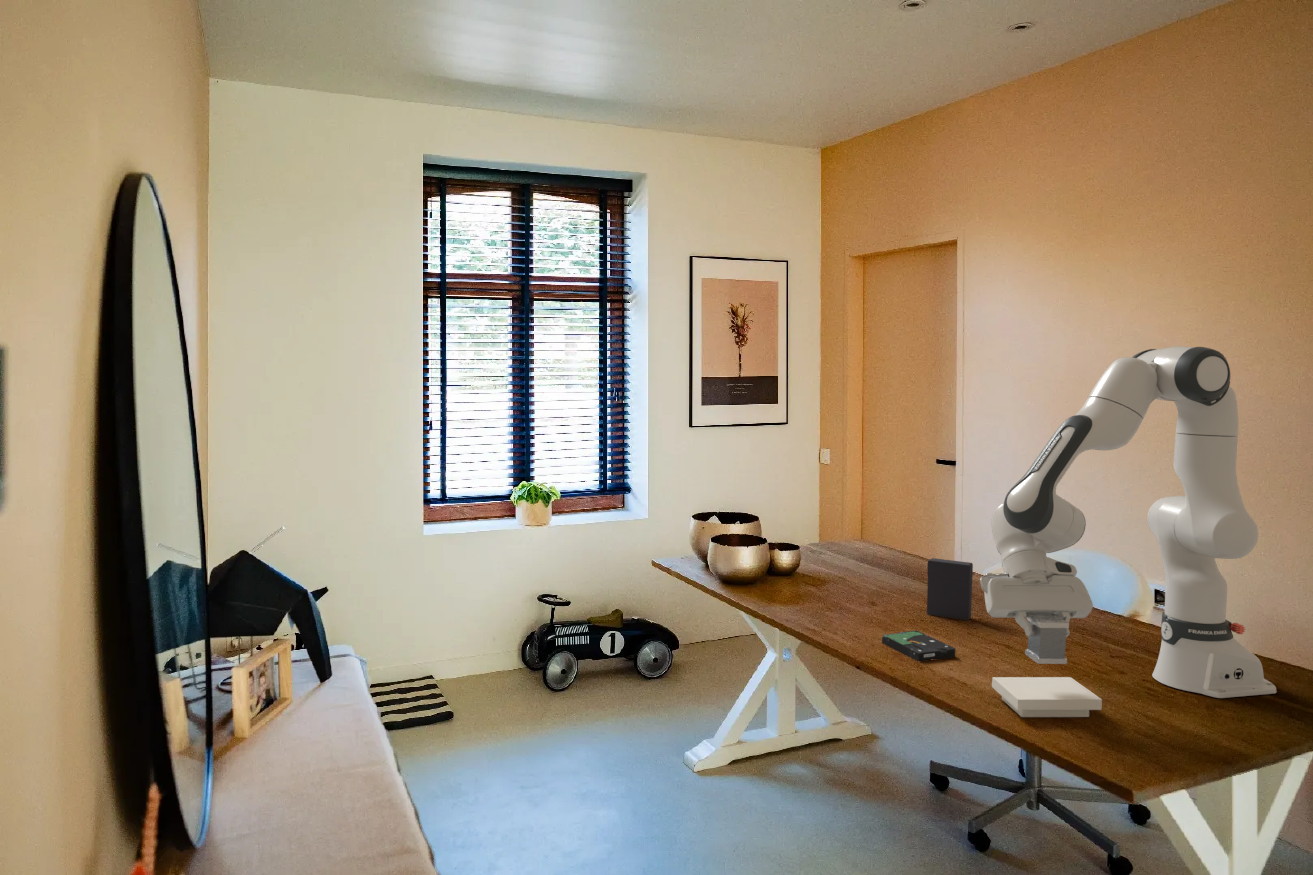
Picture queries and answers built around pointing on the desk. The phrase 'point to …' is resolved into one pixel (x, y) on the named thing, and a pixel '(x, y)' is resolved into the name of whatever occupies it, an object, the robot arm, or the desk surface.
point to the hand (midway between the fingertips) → (1048, 635)
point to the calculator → (949, 588)
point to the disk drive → (918, 645)
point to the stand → (1046, 696)
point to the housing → (1047, 639)
